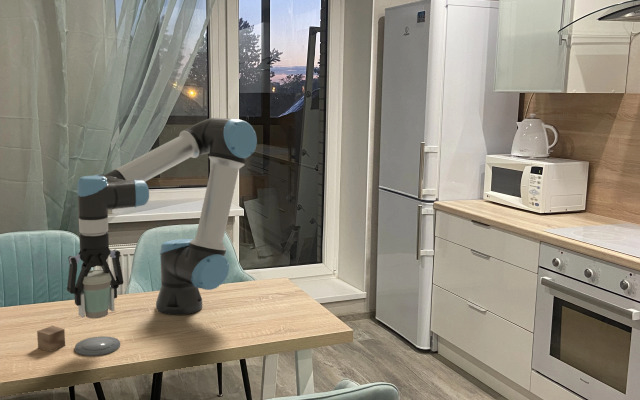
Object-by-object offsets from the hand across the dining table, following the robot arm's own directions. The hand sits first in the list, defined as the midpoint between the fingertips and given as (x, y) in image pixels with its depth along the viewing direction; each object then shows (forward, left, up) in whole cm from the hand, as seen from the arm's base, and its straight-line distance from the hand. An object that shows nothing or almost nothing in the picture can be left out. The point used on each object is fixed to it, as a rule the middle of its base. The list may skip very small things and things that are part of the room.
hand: (96, 312), depth 177 cm
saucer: (0, 0, -10) cm, 10 cm away
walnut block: (+10, -8, -10) cm, 16 cm away
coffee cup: (0, 0, -1) cm, 1 cm away
